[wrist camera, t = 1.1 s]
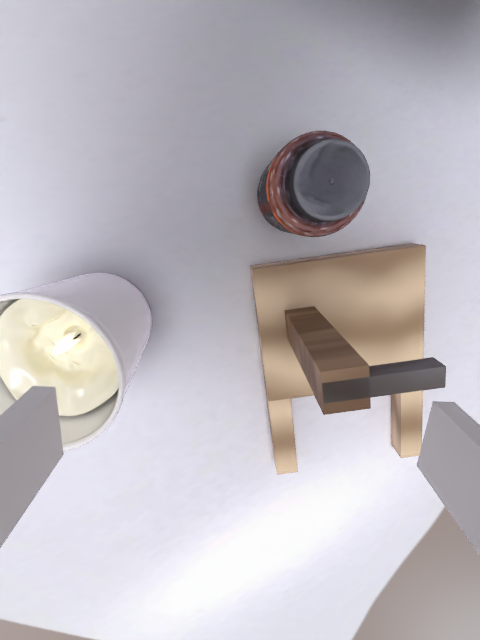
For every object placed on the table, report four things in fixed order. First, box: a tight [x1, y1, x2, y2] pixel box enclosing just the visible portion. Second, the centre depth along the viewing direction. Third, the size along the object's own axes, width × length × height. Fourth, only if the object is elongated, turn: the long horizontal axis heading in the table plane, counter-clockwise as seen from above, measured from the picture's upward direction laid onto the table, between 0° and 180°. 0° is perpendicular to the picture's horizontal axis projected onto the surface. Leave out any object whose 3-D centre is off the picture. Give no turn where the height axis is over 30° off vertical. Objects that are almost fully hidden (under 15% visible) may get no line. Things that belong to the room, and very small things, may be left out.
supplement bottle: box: [257, 131, 370, 237], centre depth 24 cm, size 6×6×11 cm
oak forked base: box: [251, 244, 426, 475], centre depth 32 cm, size 20×14×2 cm
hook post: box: [285, 306, 446, 415], centre depth 24 cm, size 2×6×12 cm, turn 98°
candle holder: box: [0, 273, 152, 451], centre depth 26 cm, size 10×10×12 cm
